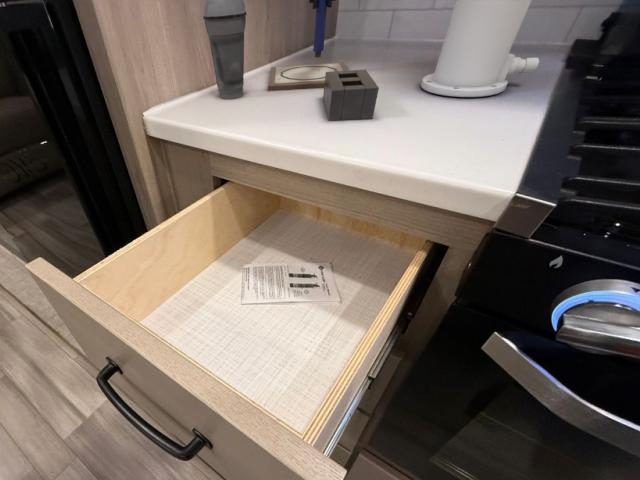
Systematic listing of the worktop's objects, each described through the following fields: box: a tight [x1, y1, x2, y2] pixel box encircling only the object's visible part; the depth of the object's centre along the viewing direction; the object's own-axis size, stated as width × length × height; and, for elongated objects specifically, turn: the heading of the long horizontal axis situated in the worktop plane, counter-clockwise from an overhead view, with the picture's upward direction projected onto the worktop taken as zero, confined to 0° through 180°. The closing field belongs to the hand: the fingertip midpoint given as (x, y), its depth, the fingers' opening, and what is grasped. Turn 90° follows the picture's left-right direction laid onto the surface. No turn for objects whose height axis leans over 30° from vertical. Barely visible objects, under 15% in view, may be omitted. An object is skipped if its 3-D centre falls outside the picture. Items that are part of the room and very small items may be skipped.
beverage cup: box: [202, 0, 247, 100], centre depth 54 cm, size 7×7×20 cm
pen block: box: [322, 68, 380, 122], centre depth 50 cm, size 6×11×4 cm, turn 174°
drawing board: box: [267, 61, 349, 91], centre depth 66 cm, size 16×16×1 cm
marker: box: [312, 0, 328, 58], centre depth 60 cm, size 2×2×13 cm
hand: (321, 6), depth 60 cm, fingers closed on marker, 2 cm apart
